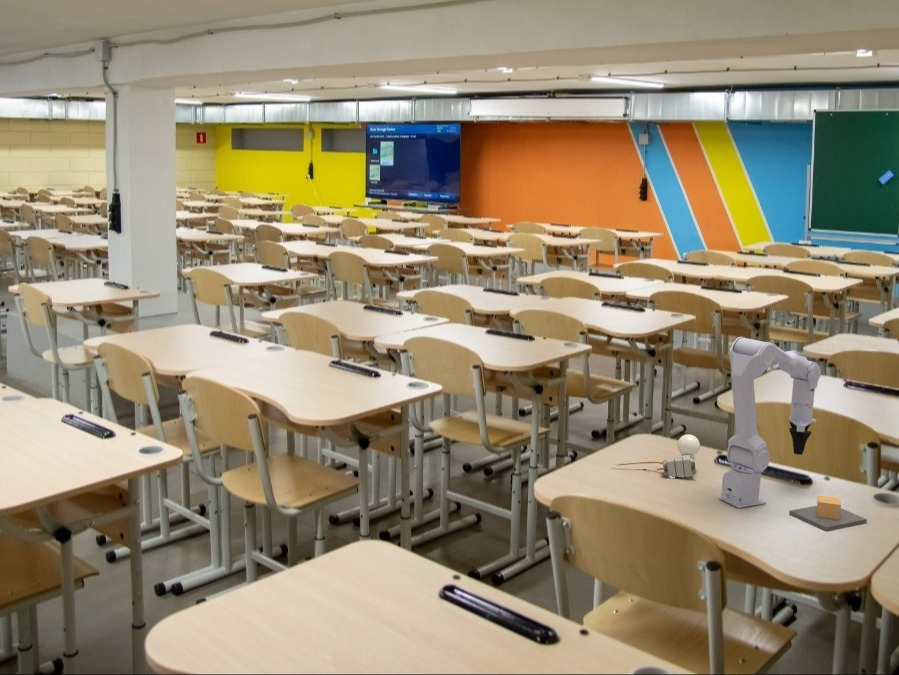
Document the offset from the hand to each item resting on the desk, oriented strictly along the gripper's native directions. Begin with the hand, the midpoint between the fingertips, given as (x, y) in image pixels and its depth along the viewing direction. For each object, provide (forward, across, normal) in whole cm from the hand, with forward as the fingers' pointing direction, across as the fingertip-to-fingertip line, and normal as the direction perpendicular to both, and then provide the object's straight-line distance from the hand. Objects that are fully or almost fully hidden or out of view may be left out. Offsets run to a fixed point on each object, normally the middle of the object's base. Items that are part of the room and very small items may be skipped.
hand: (797, 450), depth 259 cm
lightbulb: (+11, +1, +30) cm, 32 cm away
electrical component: (+11, -5, +39) cm, 41 cm away
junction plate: (+10, -23, -8) cm, 27 cm away
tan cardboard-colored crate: (+9, -23, -8) cm, 26 cm away
